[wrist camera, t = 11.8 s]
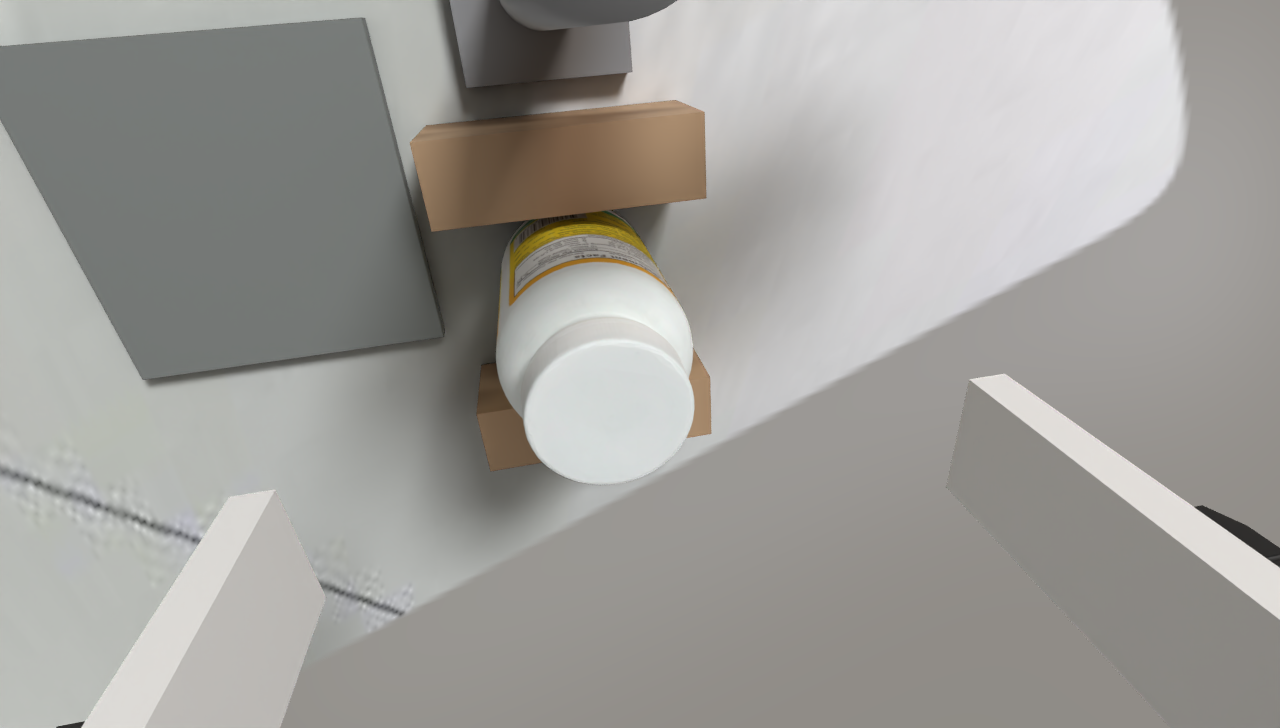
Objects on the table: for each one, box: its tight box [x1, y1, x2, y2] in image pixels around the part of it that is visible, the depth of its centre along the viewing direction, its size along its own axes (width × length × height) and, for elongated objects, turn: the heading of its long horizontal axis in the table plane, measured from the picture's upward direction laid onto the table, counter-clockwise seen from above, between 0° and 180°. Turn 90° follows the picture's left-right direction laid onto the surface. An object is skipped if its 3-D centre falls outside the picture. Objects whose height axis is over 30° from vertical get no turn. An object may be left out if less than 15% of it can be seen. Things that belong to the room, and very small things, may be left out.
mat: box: [0, 18, 445, 380], centre depth 19 cm, size 10×10×1 cm
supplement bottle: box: [496, 210, 694, 485], centre depth 18 cm, size 5×5×10 cm
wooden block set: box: [410, 0, 711, 471], centre depth 19 cm, size 8×17×4 cm, turn 5°
